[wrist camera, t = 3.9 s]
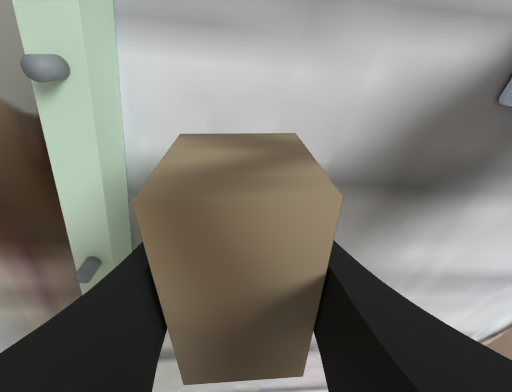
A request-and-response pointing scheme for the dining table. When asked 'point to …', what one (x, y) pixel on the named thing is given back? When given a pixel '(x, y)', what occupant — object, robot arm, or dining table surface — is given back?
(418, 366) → the robot arm
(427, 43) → the dining table surface
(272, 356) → the frame block
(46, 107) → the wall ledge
